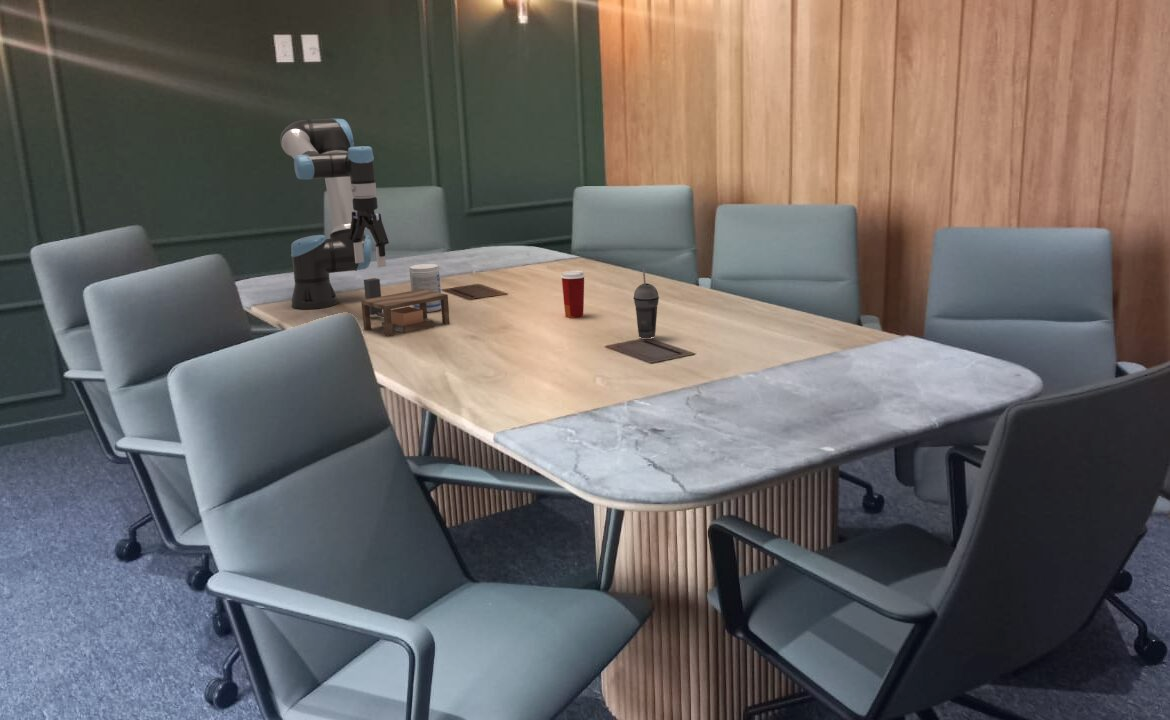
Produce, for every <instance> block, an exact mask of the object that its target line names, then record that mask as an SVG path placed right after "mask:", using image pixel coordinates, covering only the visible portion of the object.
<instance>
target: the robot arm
mask: <svg viewBox="0 0 1170 720" xmlns="http://www.w3.org/2000/svg"><path fill="white" fill-rule="evenodd" d="M279 139H280V140H279V142H280V147H281V149H282V150H283V151H284V153H285V154H287V156H290V157H291V158H293V167H294V172H295V175H296V176H295V177H296V178H297V179H298V180H307V181H309V180H315V179H324V181H325V186H326V193H327V200H328V205H329V211H330V217H331V223H332V230H331V232H330V233H329V238H327V236H326V235H324V234H316V235H309V236H305V237H301V238H299V239H296V240H294V241H293V242H292V243H291V246H290V247H291V251H290V252H291V254H290V256H291V259H292V267H293V268H292V271H293V279H294V288H293V291H292V296H291V301H290V302H291V307H292V308H293V309H297V310H298V309H299V310H313V309H324V308H329V307H333V306H336V305H337V304H338V298H337V295H336V292H335V291H334V287H333V286H332V283H331V280H330V273H331V274H332V273H333V274H334V273H341V272H343V273H344V272H353V271H355V272H357V271H362V270H366V269H368V268H369V267H370V264H371V262H372V239H371V237H370V235H368V234H365V229H366V228H367V229H368V230H369V232H370V233H371V236H372V238H373V239H374V242H375V243H376V244H375V253H376V254H375V255H376V266H377V268H383V267H387V261H386V245H389V243H390V242H389V239H388V234H387V232H386V230H385V227H384V223H383V219H382V216H381V215H382V214H381V213H379V212H378V213H376V212H375V210H377V209H378V207H379V205H378V198H377V194H378V193H377V184H376V172H375V164H374V163H375V162H374V159H375V156H374V153H373V148H372V146H365V145H364V146H363V145H362V146H355V142H354V136H353V131H352V128H351V126H350V125H349V123H348V121H347V120H346V119H343V118H334V117H333V118H332V117H331V118H322V119H320V118H319V119H317V118H316V119H301V120H296V121H294V122H292V123H290V124H289V125H287V126H286V127H285V128H284V130H283V131H282V132H281V134H280V138H279Z"/></svg>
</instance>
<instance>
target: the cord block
mask: <svg viewBox="0 0 1170 720" xmlns="http://www.w3.org/2000/svg"><path fill="white" fill-rule="evenodd" d="M363 285H364V286H363V287H364V288H363V289H364V297H365V299H370V298H376V297H381V296H382V291H381V290H382V289H381V280H380V278H376V277H373V278H368V279H363ZM369 310H370V316H373V315H376V316H378V317H381V318H384V315H383V309H379V308H375V307H371V306H369ZM391 321H392V324H393V325H397V326H401V327H403V326H406V325H411V324H416V323H421V322H424V321H425V320H424V319H423V310H421V309H416V308H413V306H405V307H400V308H395V309H391Z"/></svg>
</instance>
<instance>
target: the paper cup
mask: <svg viewBox="0 0 1170 720" xmlns="http://www.w3.org/2000/svg"><path fill="white" fill-rule="evenodd" d="M585 277H586V275H585V272H584V271H582V270H565V271H562V272H561V275H560V278H561V283H562V284H561V287H562V294H563V295H562V296H563V305H564V315H565V318H567V319H580V317H581V318H583V317H584V306H585V305H584V304H585V303H584V301H585Z"/></svg>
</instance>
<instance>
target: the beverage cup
mask: <svg viewBox="0 0 1170 720" xmlns="http://www.w3.org/2000/svg"><path fill="white" fill-rule="evenodd" d="M645 270H646V269H645V267H642V276H643V283H641V284H640V285H638V286H637V287H636V288H635V290H634V292H633V303H634V306H635V313H636V324H637V332H638V338H639V337H641V338H651V337H654V336H655V337H656V331H657V316H658V305H659V299H660V297H659V292H658V290H657V288H656V287H655V286H654V285H653V284H651V283H648V282H646V271H645Z"/></svg>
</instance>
